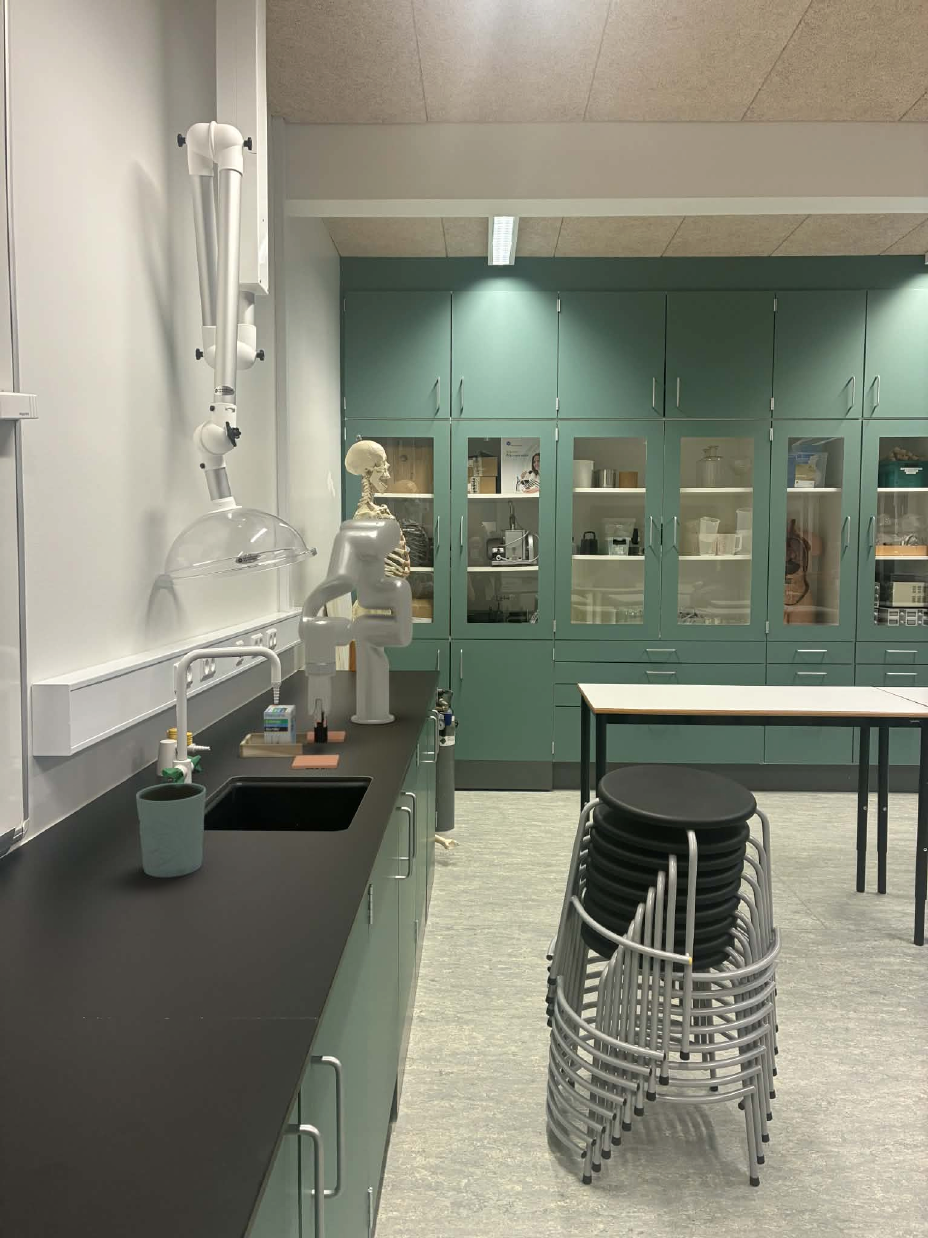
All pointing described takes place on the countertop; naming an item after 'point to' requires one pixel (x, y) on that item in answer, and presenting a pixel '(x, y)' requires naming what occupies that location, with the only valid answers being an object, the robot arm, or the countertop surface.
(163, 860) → the teal cup
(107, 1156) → the countertop surface
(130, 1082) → the countertop surface
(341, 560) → the robot arm
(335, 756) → the plate
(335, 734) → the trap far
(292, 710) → the light bulb box
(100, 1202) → the countertop surface
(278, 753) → the wooden tray
